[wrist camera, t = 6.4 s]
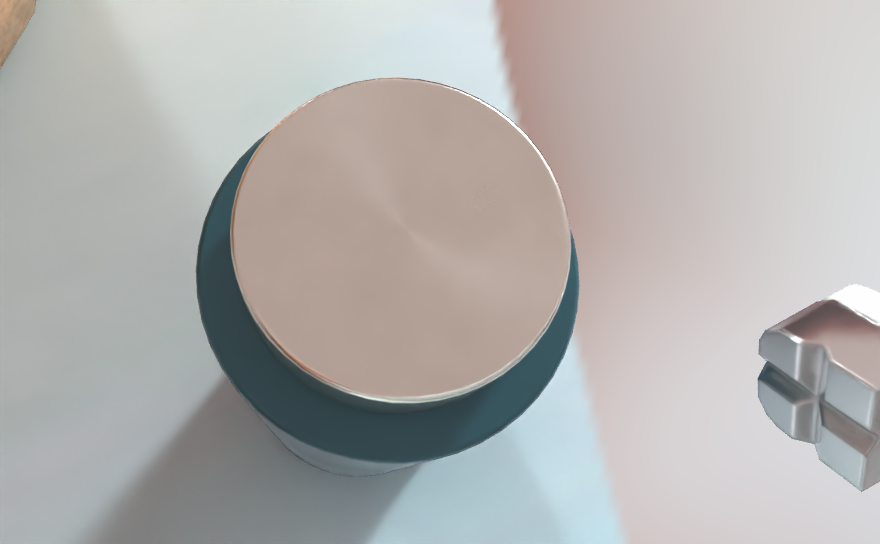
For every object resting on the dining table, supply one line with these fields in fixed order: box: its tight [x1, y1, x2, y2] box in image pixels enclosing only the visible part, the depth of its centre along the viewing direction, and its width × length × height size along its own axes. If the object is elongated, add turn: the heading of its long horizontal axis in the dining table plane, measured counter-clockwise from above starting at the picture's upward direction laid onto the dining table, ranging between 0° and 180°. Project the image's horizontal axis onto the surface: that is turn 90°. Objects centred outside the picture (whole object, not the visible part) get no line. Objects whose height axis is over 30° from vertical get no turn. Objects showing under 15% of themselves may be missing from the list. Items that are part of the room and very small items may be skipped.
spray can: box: [196, 78, 579, 476], centre depth 14 cm, size 5×5×11 cm
